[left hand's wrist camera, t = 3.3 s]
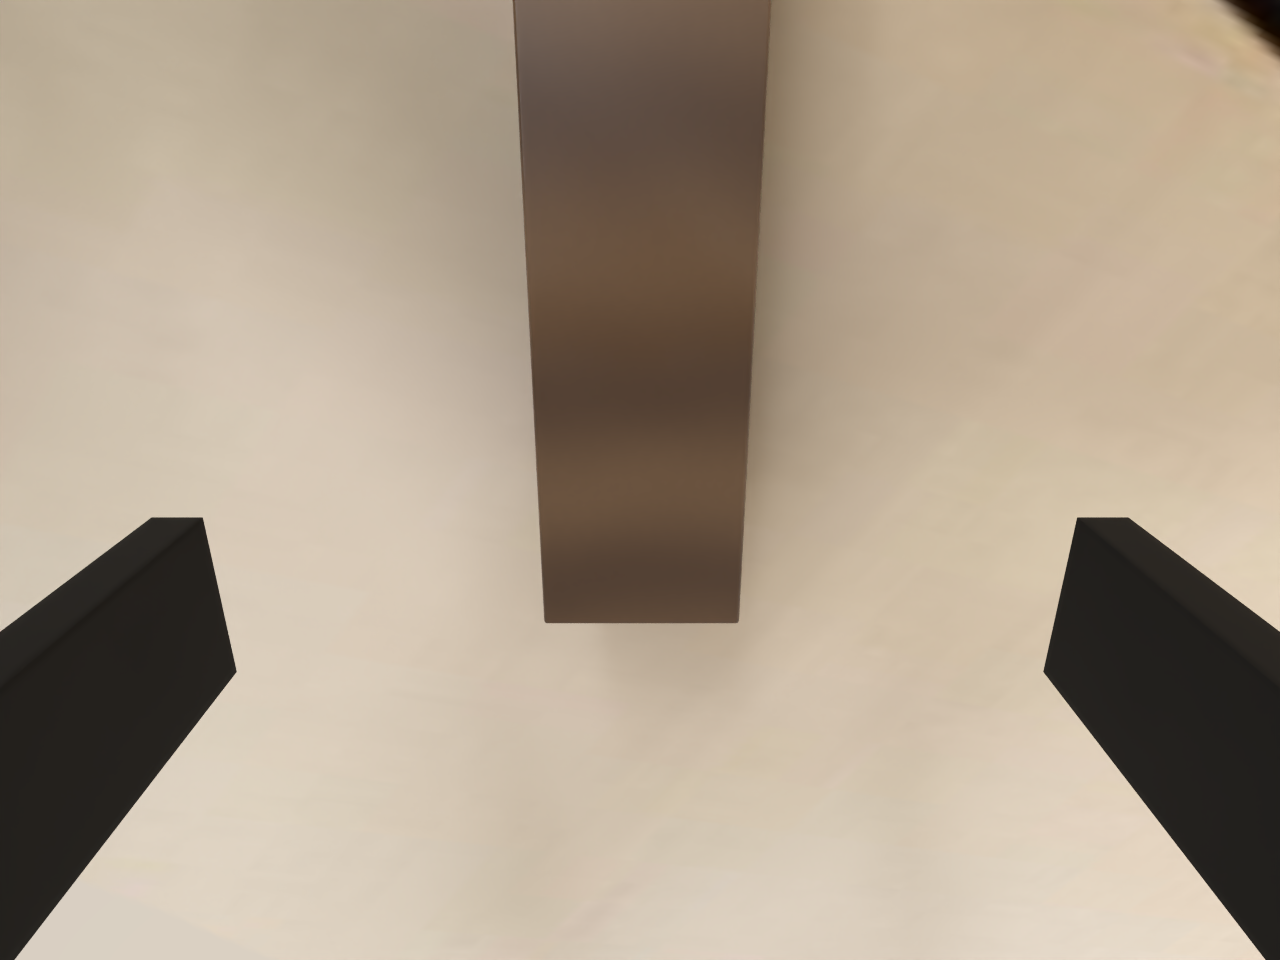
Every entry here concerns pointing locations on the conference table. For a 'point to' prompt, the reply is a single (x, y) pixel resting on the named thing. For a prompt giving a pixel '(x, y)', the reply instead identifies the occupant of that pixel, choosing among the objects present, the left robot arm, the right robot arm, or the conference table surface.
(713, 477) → the post
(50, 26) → the conference table surface
